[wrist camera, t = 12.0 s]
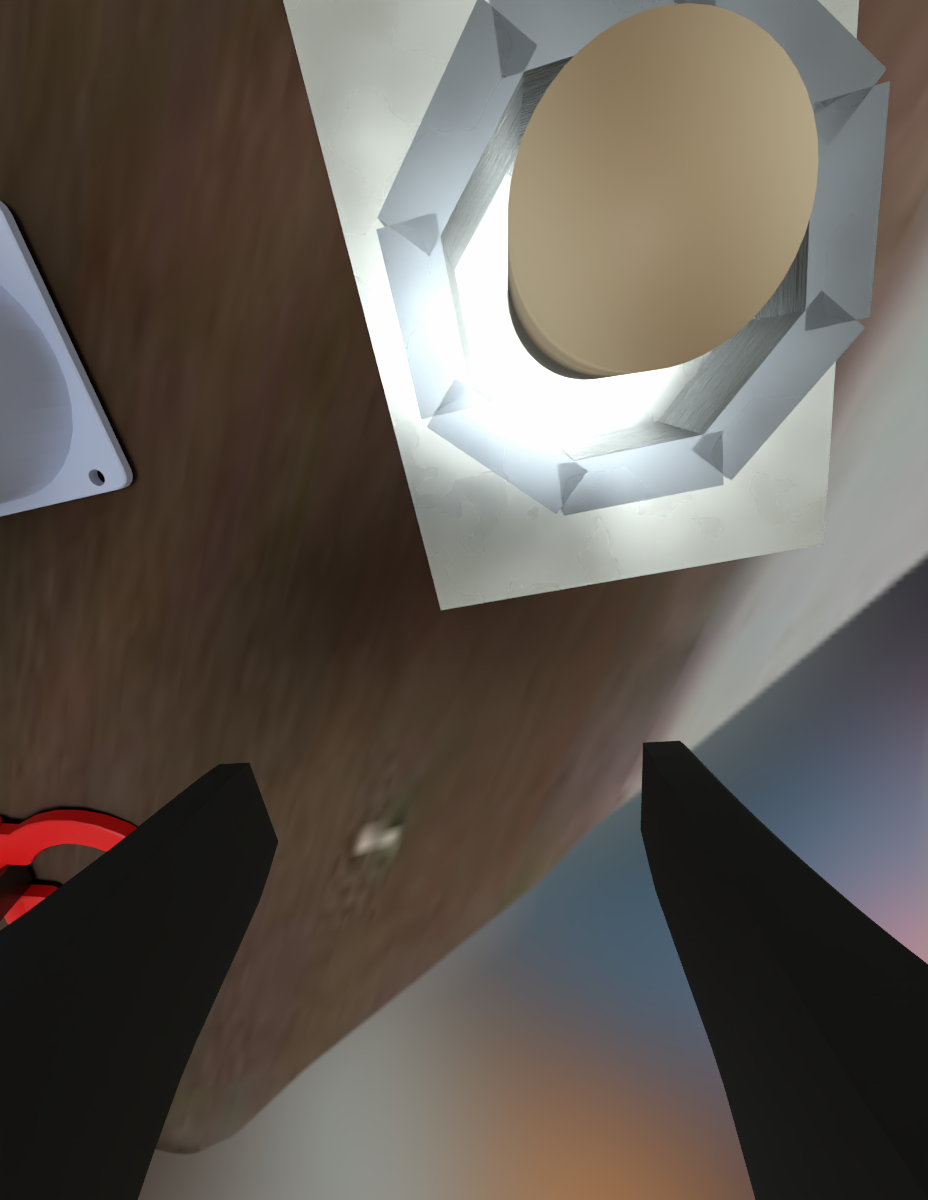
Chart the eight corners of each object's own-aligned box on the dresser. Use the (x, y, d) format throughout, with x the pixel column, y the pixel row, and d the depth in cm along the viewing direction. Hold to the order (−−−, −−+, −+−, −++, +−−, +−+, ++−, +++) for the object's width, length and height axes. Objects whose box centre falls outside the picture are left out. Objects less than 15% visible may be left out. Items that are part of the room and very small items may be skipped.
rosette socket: (444, 598, 18) (427, 664, 14) (287, -18, 12) (176, -224, 8) (805, 534, 16) (908, 588, 12) (843, -224, 10) (1077, -631, 6)
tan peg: (536, 404, 14) (554, 412, 9) (483, 228, 13) (466, 101, 7) (698, 342, 13) (834, 306, 8) (661, 145, 12) (797, -72, 6)
